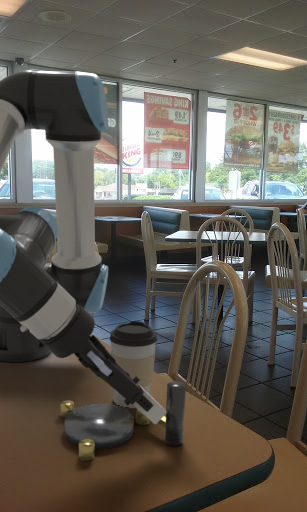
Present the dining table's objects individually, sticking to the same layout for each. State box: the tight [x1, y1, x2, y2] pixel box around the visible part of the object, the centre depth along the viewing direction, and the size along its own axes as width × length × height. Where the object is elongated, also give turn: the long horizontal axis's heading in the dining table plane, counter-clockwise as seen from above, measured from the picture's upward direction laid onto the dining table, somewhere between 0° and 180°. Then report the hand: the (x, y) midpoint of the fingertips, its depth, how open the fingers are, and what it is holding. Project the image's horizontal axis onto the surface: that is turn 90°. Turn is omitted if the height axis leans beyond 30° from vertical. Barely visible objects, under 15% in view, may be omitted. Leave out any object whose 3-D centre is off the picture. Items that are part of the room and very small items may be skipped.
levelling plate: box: [60, 399, 135, 462], centre depth 80 cm, size 16×12×2 cm
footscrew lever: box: [135, 380, 187, 446], centre depth 79 cm, size 11×3×10 cm, turn 40°
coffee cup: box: [109, 320, 158, 409], centre depth 91 cm, size 9×9×15 cm
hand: (159, 416), depth 76 cm, fingers closed
